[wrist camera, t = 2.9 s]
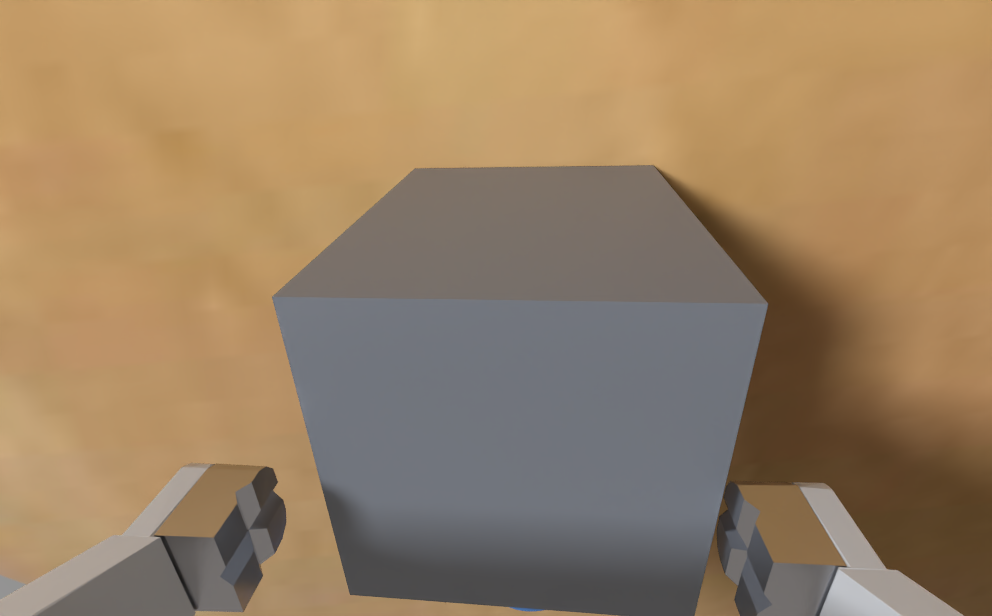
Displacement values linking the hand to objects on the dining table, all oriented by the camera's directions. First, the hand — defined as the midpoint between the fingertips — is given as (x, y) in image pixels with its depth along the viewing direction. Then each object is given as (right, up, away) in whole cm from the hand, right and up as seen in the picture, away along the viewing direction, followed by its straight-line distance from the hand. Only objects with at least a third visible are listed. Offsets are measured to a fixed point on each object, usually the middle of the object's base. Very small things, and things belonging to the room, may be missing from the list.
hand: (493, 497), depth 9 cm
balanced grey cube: (+1, +5, +7) cm, 9 cm away
